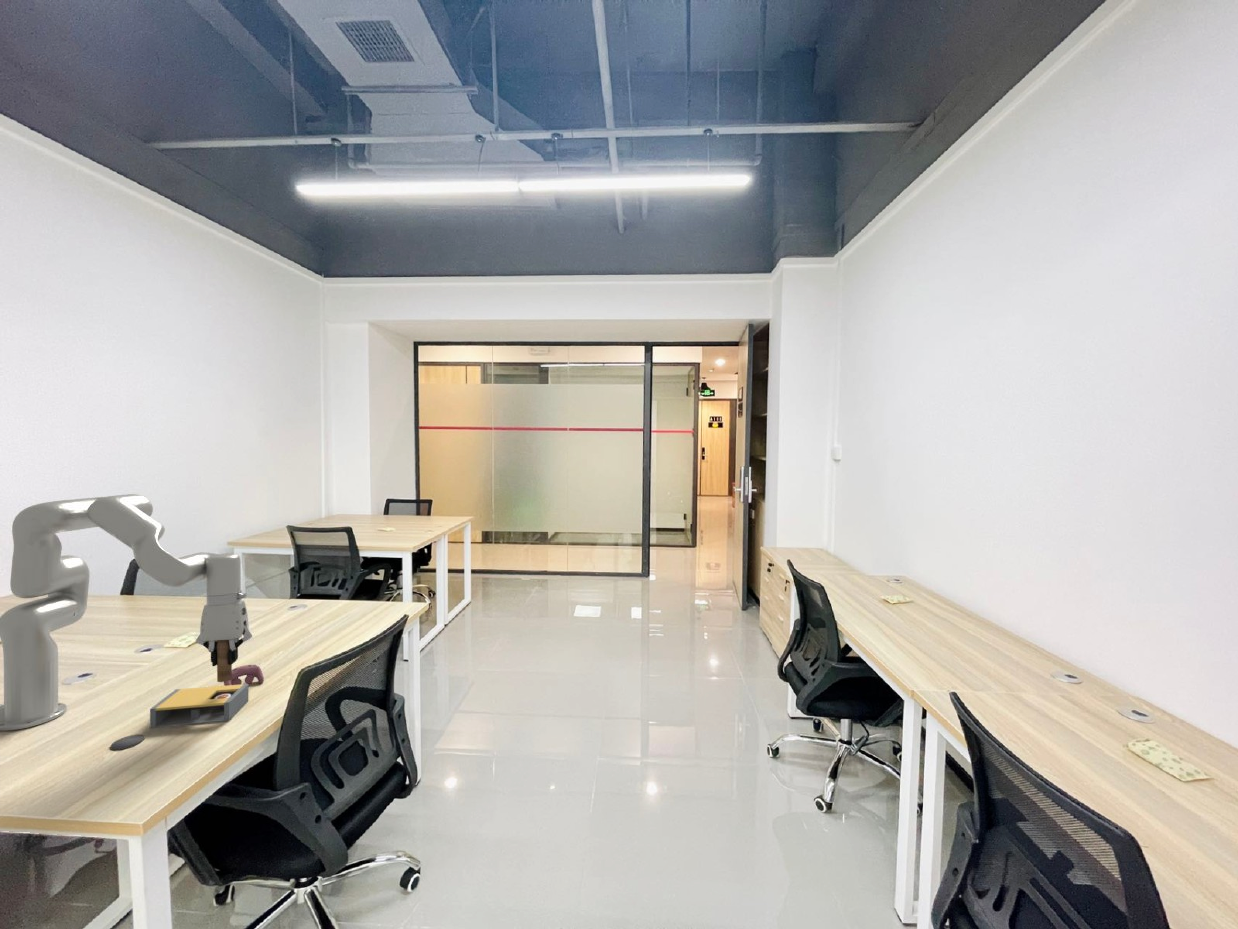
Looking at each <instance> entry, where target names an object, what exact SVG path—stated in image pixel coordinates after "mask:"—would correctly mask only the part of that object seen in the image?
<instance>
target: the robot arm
mask: <svg viewBox="0 0 1238 929" xmlns="http://www.w3.org/2000/svg"><path fill="white" fill-rule="evenodd" d="M153 512H154V508H153V504H152V502H151V501H150V500H149V499H148V498H146V496H143V495H140V494H135V493H129V494H120V495H119V494H118V495H109V496H100V497H97V496H96V497H88V498H87V497H86V498H76V499H64V500H63V499H62V500H54V501H48V502H42V503H37V504H33V505H30V506H29V507H25V508H24V509H22V510H21V511H19V513H17V515H16V516H15V517H14V519H13V521H12V525H11V526H12V529H11V534H12V540H13V541H12V542H13V552H12V559H11V569H10V570H11V571H10V581H9V582H10V583H9V584H10V591H11V593H12V595H14V596H15V597H17V598H19V599H34V598H38V597H42V598H39V599H34V600H32V601H28V602H24V603H21V604H18V605H16V606H13V607H11V608H9V609H8V610H6V611H5V612H4V613H3V614H2V615H1V616H0V642H1V645H2V654H3V656H2V658H3V704H0V731H1V732H2V731H6V732H7V731H17V730H22V729H27V728H31V727H35V726H38V725H41V724H44V723H47V722H50V721H52V720H55V719H56V718H58V717H59V718H60V717H61V716H62V715H63V714H65V713H66V711H67V708H68V707H67V705H66V703H63V702H59V648H58V645H57V643H56V641H55V640H54V639H53V637H52V636H51V635H50V634H51V633H53V632H54V631H57V630H60V629H63V628H65V627H67V626H70V625H71V626H72V625H73V624H75V623H77V622H79V620H81V619H82V617H83V616H84V614H85V612H86V611H87V605H88V596H89V589H90V588H89V587H90V568H89V566H88V564H87V562H85V560H84V559H82V558H80V557H78V556H75V555H69V554H67V555H62V550H63V546H62V542H61V539H60V538H59V537H58V535H57V534H58V533H66V532H72V531H80V530H85V529H90V528H91V529H92V528H99V529H102V530H103V531H104V532H106V533H108V534H109V535H111V537H113V538H115V539H117V540H119V541H120V542H121V543H123V544H124V545H126V547H128V548H130V549H131V550H132V551H133V557H134V560H135V562H136V563H137V564H136V565H137V566H138V568H140V570H141V571H142V572H143V573H145V574H146V575H148V576H149V577H151V578H152V579H153V580H155V581H156V582H158V583H160V584H162V585H165V586H168V587H169V588H170V587H171V588H180V587H184V586H186V585H189V584H192V583H197V582H199V581H202V580H205V579H206V580H205V582H206V604H204V605H203V608H202V613H201V617H200V625H199V626H200V627H199V628H200V629H199V635H198V636H197V638H196V640H195V643H196V644H198V645H201V646H203V647H205V648H206V650H207V651H208V652H209V653H210V662H211V666H212V667H217V641H219V640H229V643H230V650H229V651H228V665H232V666H233V664H235V662H237V660H238V659H239V647H240V646H241V645H242V644H243V643H245V642H247V641H249V640H250V639H252V638H253V635H252V632H251V631H250V630H249V628H250V627H249V616H248V611H247V610H248V608H247V605H246V601H245V600H242V599H246V598H247V593H243V591H242V589H241V588H242V587H241V585H242V584H241V582H242V581H241V580H242V579H241V578H242V577H241V575H242V573H241V572H242V571H241V569H242V568H241V563H242V562H241V556H240V555H239V554H237V553H232V552H231V553H229V552H228V553H220V554H218V553H211V552H205V551H203V552H196V553H192V554H188V555H184V556H181V557H176V556H174V555H172V553H170V552H168V551H166V550H165V549H164V548H163V547H162V546H161V545H160V543H159V541H160V539H161V538H162V537H163V536H164V534H165V530H166V529H165V527H164V525H163V524H162V523H160V521H159V522H158V521H157V520H156V519H154V518H153V517H151V516H152V515H153ZM46 595H47V596H46ZM43 596H46V597H43Z"/></svg>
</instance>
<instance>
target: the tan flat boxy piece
mask: <svg viewBox="0 0 1238 929" xmlns="http://www.w3.org/2000/svg"><path fill="white" fill-rule="evenodd" d="M249 684H250V683H249ZM249 684H247V683H244V684H242V683H241V685H228V686H224V685H218V686H217V685H216V686H203V687H202V686H201V687H192V688H179V689H178V688H176V689H174V690H173V691H171V693H169V694H168V695H166V696H165V697H164V698H163V699H161V700H160V701H159V702H157V703H156V704H155V705H154V706H152V707H150V708H149V729H157V728H159V729H160V728H168V727H169V728H171V727H180V726H190V725H200V724H201V725H202V724H212V723H222V722H230V721H232V719H233V718H234V717H235V715H237V714H238V713H239V712H240V711H241V710H242V709H243V707H245V705H246V704H247V703H248V702H249ZM222 694H231V697H230V698H221V699H215V697H217V696H219V695H222Z"/></svg>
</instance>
